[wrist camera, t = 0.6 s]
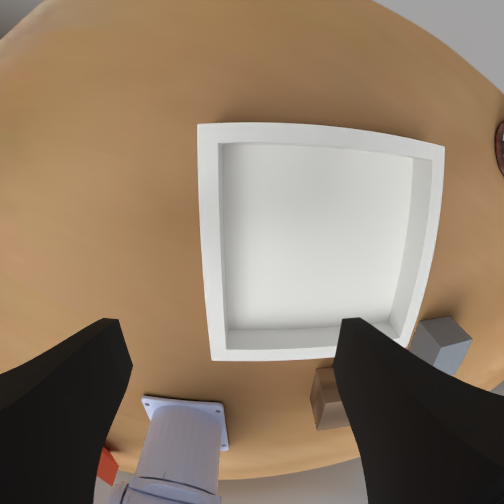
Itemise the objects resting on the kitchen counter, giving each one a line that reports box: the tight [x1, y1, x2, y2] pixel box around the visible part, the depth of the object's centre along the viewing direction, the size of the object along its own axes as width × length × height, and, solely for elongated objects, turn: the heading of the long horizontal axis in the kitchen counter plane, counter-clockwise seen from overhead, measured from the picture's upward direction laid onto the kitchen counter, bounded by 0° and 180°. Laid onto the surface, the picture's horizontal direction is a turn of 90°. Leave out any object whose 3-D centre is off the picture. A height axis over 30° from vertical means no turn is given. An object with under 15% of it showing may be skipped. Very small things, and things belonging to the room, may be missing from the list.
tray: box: [197, 122, 445, 361], centre depth 16 cm, size 14×14×3 cm
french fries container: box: [93, 446, 119, 504], centre depth 19 cm, size 5×11×18 cm, turn 106°
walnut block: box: [310, 367, 350, 431], centre depth 20 cm, size 4×4×4 cm
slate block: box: [409, 316, 472, 375], centre depth 18 cm, size 4×4×4 cm
